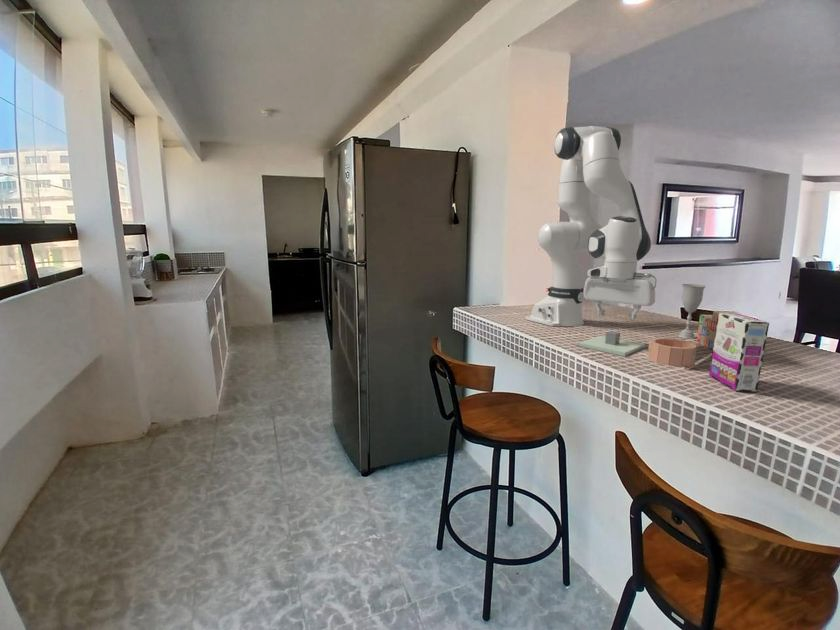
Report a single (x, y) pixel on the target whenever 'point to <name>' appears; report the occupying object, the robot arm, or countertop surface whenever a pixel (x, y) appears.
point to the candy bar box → (738, 351)
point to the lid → (612, 344)
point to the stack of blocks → (709, 328)
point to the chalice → (691, 305)
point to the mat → (616, 354)
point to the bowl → (672, 352)
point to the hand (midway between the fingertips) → (615, 317)
